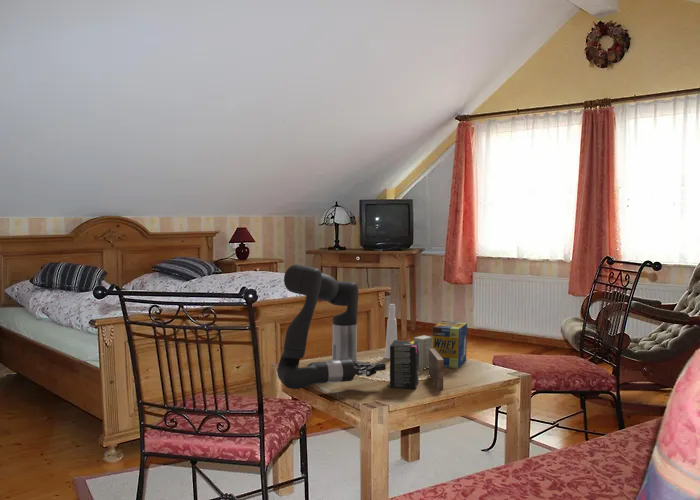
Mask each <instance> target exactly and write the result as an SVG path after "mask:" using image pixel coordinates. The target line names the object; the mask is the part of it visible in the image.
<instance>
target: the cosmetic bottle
mask: <svg viewBox="0 0 700 500" xmlns="http://www.w3.org/2000/svg"><path fill="white" fill-rule="evenodd" d="M396 309H397V308H396V304H395V303H390V304H389V305H388V318H387V322H386V323H387V324H386V337H385V338H386V340H385V351H384V356H383V358H384V359H387V360H390V345H391V344H392V343H393V341H394V340H398V326H397V322H398V321H397V318H396Z"/></svg>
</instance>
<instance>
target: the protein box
mask: <svg viewBox="0 0 700 500" xmlns="http://www.w3.org/2000/svg"><path fill="white" fill-rule="evenodd" d="M467 341H468V323H467V322H459V321H449V320H448V321H447V320H442V321H440V322H439V323H436V324H435V325H434V326H432V349H435V350H436V351H437V352H438V353H439V355H440V356H441V357H442V358H443V360H444V368H449V369H457V370H458V369H459V368H460V367H461V366H462V365H463V364H464V363H465V362H466V361H467V346H468V344H467V343H468V342H467Z"/></svg>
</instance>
